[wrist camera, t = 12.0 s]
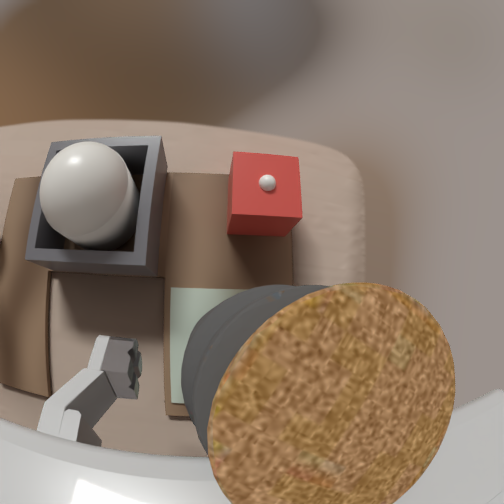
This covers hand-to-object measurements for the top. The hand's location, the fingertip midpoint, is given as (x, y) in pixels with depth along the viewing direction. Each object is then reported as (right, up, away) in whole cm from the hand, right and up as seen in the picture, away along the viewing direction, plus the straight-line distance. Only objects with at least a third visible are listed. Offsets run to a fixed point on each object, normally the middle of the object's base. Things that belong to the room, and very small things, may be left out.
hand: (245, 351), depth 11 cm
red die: (0, +7, +10) cm, 12 cm away
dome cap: (-10, +6, +8) cm, 14 cm away
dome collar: (-10, +6, +8) cm, 14 cm away
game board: (-8, +1, +8) cm, 12 cm away
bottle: (-1, -2, +8) cm, 8 cm away
